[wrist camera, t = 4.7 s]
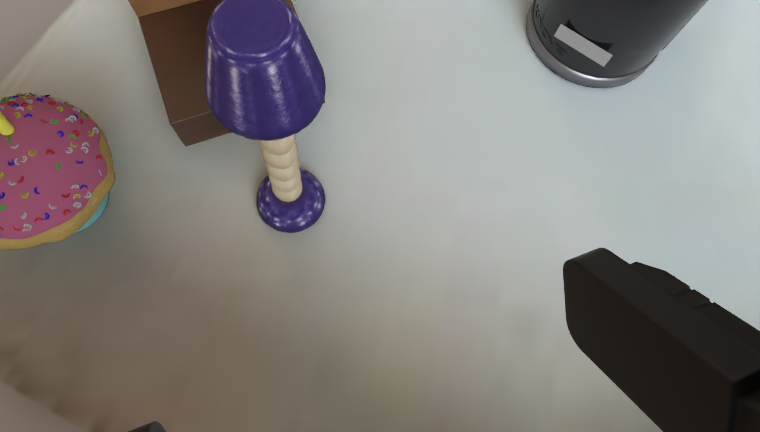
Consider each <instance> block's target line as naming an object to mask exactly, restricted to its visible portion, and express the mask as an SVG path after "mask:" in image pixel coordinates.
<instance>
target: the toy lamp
mask: <svg viewBox="0 0 760 432" xmlns="http://www.w3.org/2000/svg"><path fill="white" fill-rule="evenodd" d="M204 89H205V95H206V99H207V103H208V105H209V107H210V109H211V111H212V113H213V114H214V116H215V117H216V118H217V120H218V121H219V122H220V123H221V124H222V125H223V126H224V127H226V128H227V129H228V130H230V131H231V132H233V133H235V134H237V135H239V136H243V137H245V138H248V139H252V140H259V142H260V144H261V151H262V155H263V157H264V159H265V165H266V169H267V171H268V173H269V175H268V176H267V177H266V178H265V179H264V180H263V181H262V183H261V184H260V186H259V189H258V192H257V209H258V212H259V214H260V216H261V218H262V219H263V220H264V222H265V223H266V224H268V225H269V226H271V227H273V228H274V229H276V230H278V231H282V232H288V233H290V232H292V233H293V232H299V231H302V230H304V229H307V228H308V227H310V226H312V225H313V224H314V223H315V222H316V221H317V220H318V219H319V217H320V216H321V214H322V212H323V209H324V204H325V194H324V190H323V188H322V186H321V184H320V182H319V181H318V180H317V179H316V178H315V177H314V176H313V175H312V174H311V173H309V172H308V171H306V170H304V169H301V168H299V167H300V162H299V158H298V147H297V144H296V141H295V139H296V135H295V134H296V133H298V132H299V131H301V130H302V129H304V128H305V127H307V126H308V125H309V124H310V123H311V122H312V121H313V119H314V118H315V117H316V116H317V114H318V112H319V110H320V108H321V106H322V104H323V101H324V96H325V77H324V72H323V69H322V66H321V64H320V62H319V59H318V57H317V55H316V53H315V51H314V49H313V47H312V44H311V42H310V40H309V38H308V36H307V34H306V32H305V30H304V28H303V26H302V24H301V23H300V21H299V19H298V17H297V15H296V14H295V12H294V11H293V10H292V9H291V7H290V6H289V5H288V4H287V3H285V2H284V1H283V0H223V1H222V2H221V3H220V4H219V5H218V6H217V7H216V8H215V9H214V11H213V13H212V14H211V16H210V18H209V22H208V27H207V33H206V49H205V71H204Z"/></svg>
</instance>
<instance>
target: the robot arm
mask: <svg viewBox="0 0 760 432" xmlns="http://www.w3.org/2000/svg"><path fill="white" fill-rule="evenodd" d="M707 1H708V0H534V1H533V3H532V5H531V7H530V10H529V13H528V17H527V31H528V36H529V40H530V42H531V45H532V47H533V49H534V51H535V52H536V54H537V55H538V57H539V58H540V59H541V60H542V61H543V63H544V64H545V65H546V66H548V67H549V68H550V69H551V70H552V71H554V72H555V73H556V74H558V75H559V76H561V77H563V78H565V79H567V80H569V81H571V82H574V83H577V84H580V85H583V86H588V87H596V88H608V87H615V86H619V85H623V84H626V83H628V82H630V81H632V80H634V79H635V78H637V77H638V76H639V75H641V74H642V73H643V72H644V71H645V70H646V68H647V67H648V66H649V65H650V64H651V63H652V62H653V61H654V59H655V58H656V56H657V55H658V53H659V52H660V51H661V50H663V49H664V48H665V47H666V46H667V45H668V44H669V43H670V42H671V40H672V39H673V38H674V37H675V36H676V35H677V34H678V33H679V32H680V31H681V29H682V28H683V27H684V26H685V25H686V24H687V23H688V22H689V21H690V20H691V19H692V17H693V16H694V15H695V14H696V13H697V12H698V11H699V10H700V9H701V8H702V6H703V5H704V4H705V3H706V2H707ZM563 278H564V293H565V308H566V321H567V326H568V329H569V331H570V334H571V336H572V338H573V340H574V341H575V343H576V344H577V346H578V347H579V348H580V349H581V350H582V352H583V353H584V354H586V355H587V356H588V357H589V358H590V359H591V360H592V361H593V362H594V363H595V364H596V365H597V366H598V367H599V368H600V369H601V370H602V371H603V372H604V373H605V374H606V375H607V376H608V377H609V378H610V379H611V380H612V381H613V382H614V383H615V384H616V385H617V386H618V387H619V388H620V389H621V390H622V391H623V392H624V393H625V394H626V395H627V396H628V397H629V398H630V399H631V400H632V401H633V402H634V403H635V404H636V405H637V406H638V407H639V408H640V409H641V410H642V411H643V412H644V413H645V414H646V415H647V416H648V417H649V418H650V419H651V420H652V421H653V422H654V423H655V424H656V425H657V426H658V427H659V428H660V429H661V430H662V431H663V432H760V331H759V330H757V329H755V328H754V327H752V326H751V325H749V324H748V323H746V322H744V321H743V320H741V319H740V318H738V317H737V316H735V315H734V314H732V313H730V312H729V311H727V310H726V309H724V308H723V307H721V306H719V305H718V304H716V303H715V302H714V303H711V302H710V300H709V299H708V298H707V297H705V296H704V295H702V294H701V293H699V292H697V291H696V290H691V289H690V287H689V286H688V285H687V284H685V283H683V282H682V281H680V280H679V279H677V278H676V277H674V276H672V275H671V274H669V273H668V272H666V271H664V270H660V269H657V268H654V267H651V266H648V265H645V264H642V263H639V262H634V263H632V264H628V263H627V262H625V261H624V260H623V259H621V258H620V257H618V256H617V255H615V254H614V253H612V252H611V251H609V250H607V249H605V248H598V249H595V250H593V251H590V252H588V253H585V254H583V255H580V256H577V257H575V258H572V259H570V260H567V261H566V262H565V263H564V266H563ZM128 432H166V431H165V430H164V428H163V427H162V425H161V424H160V423H158V422H156V421H154V422H151V423H149V424H146V425H144V426H141V427H139V428H136V429H134V430H131V431H128Z"/></svg>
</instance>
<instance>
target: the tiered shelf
mask: <svg viewBox="0 0 760 432" xmlns="http://www.w3.org/2000/svg"><path fill="white" fill-rule="evenodd" d="M128 1H129V3H130V4H131V6H132V8H133V10H134V11H135V13H136V15H137V16H138V19H139V22H140V25H141V29H142V32H143V35H144V39H145V42H146V45H147V49H148V52H149V55H150V59H151V62H152V65H153V69H154V72H155V75H156V79H157V82H158V85H159V89H160V92H161V95H162V99H163V102H164V105H165V109H166V112H167V115H168V119H169V122H170V125H171V126H172V127H173V129H174V130H175V132H176V133H177V135H178V136H179V138H180V139H181V141H182V142H183V144H184V145H185V146H188V145H191V144H195V143H198V142H201V141H204V140H207V139H211V138H214V137H217V136H220V135H223V134H227V133H230V132H231V131H230V130H228V129H227V128H226V127H224V126H223V125H222V124H221V123H220V122H219V121H218V120H217V118H216V117H215V116H214V114H213V113H212V111H211V109H210V107H209V105H208V103H207V99H206V95H205V89H204V71H205V49H206V33H207V27H208V22H209V18H210V16H211V14H212V13H213V11H214V9H215V8H216V7H217V6H218V5H219V4H220V3H221V2H222V1H223V0H128ZM283 1H284V2H285V3H287V4H288V5H289V6H290V7H291V9H292V10H293V11H294V12H295V9H294V7H293V4H292V2H291V0H283ZM295 14H296V12H295ZM296 15H297V14H296ZM297 17H298V16H297ZM323 103H325V99H324V101H323Z"/></svg>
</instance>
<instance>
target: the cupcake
mask: <svg viewBox="0 0 760 432" xmlns="http://www.w3.org/2000/svg"><path fill="white" fill-rule="evenodd" d="M19 94H20V95H19ZM30 94H31V93H30ZM21 95H22V97H19V96H21ZM26 95H27V96H26ZM31 95H32V96H31ZM31 95H29V94H26V93H25V94H22V93H17V94H16V96H13V97H4V98H2V100H1V101H0V249H2V250H10V249H22V248H29V247H33V246H36V245H39V244H43V243H48V242H57V241H61V240H64V239H66V238H67V237H69V236H70V235H72V234H73V233H76V232H79V231H81V230H83V229H85V228H87V227H88V226H90V225H91V224H93V223H94V222H95V221H96V220H97V219H98V218H99V217H100V215H101V214H102V213H103V211H104V209H105V207H106V205H107V201H108V197H109V190H110V189H111V187H112V186H113V183H114V180H115V174H114V169H113V163H112V156H111V152H110V148H109V145H108V142H107V139H106V137H105V135H104V133H103V132H102V130H101V129H100V127H99V126H98V125H97V124H96V123H95V122H94V121H93V120H92V119H91V118H90V117H89V116H88V115H87V114H86V113H85V112H83V111H82V110H80V109H78V108H76V107H75V106H73V105H71V104H70V103H69V102H68V101H66V102H64V101H63V100H62V99H55V98H51V97H48V96H50V95H45V96H40V95H39V94H38V93H35V95H33V94H31ZM6 98H7V99H6Z"/></svg>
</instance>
